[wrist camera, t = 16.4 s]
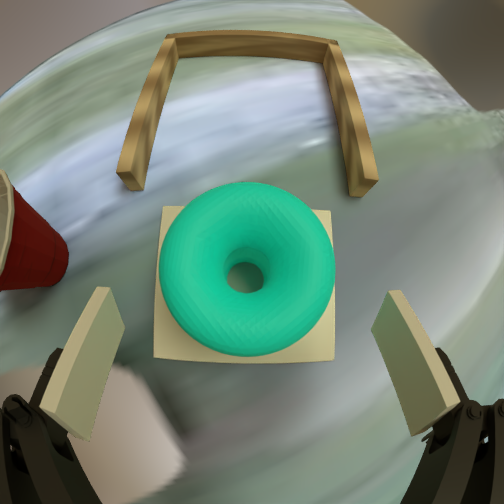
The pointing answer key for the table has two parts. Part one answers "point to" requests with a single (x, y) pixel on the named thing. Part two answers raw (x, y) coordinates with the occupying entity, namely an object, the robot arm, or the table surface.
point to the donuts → (253, 251)
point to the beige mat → (246, 281)
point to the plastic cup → (27, 244)
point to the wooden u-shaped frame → (250, 44)
